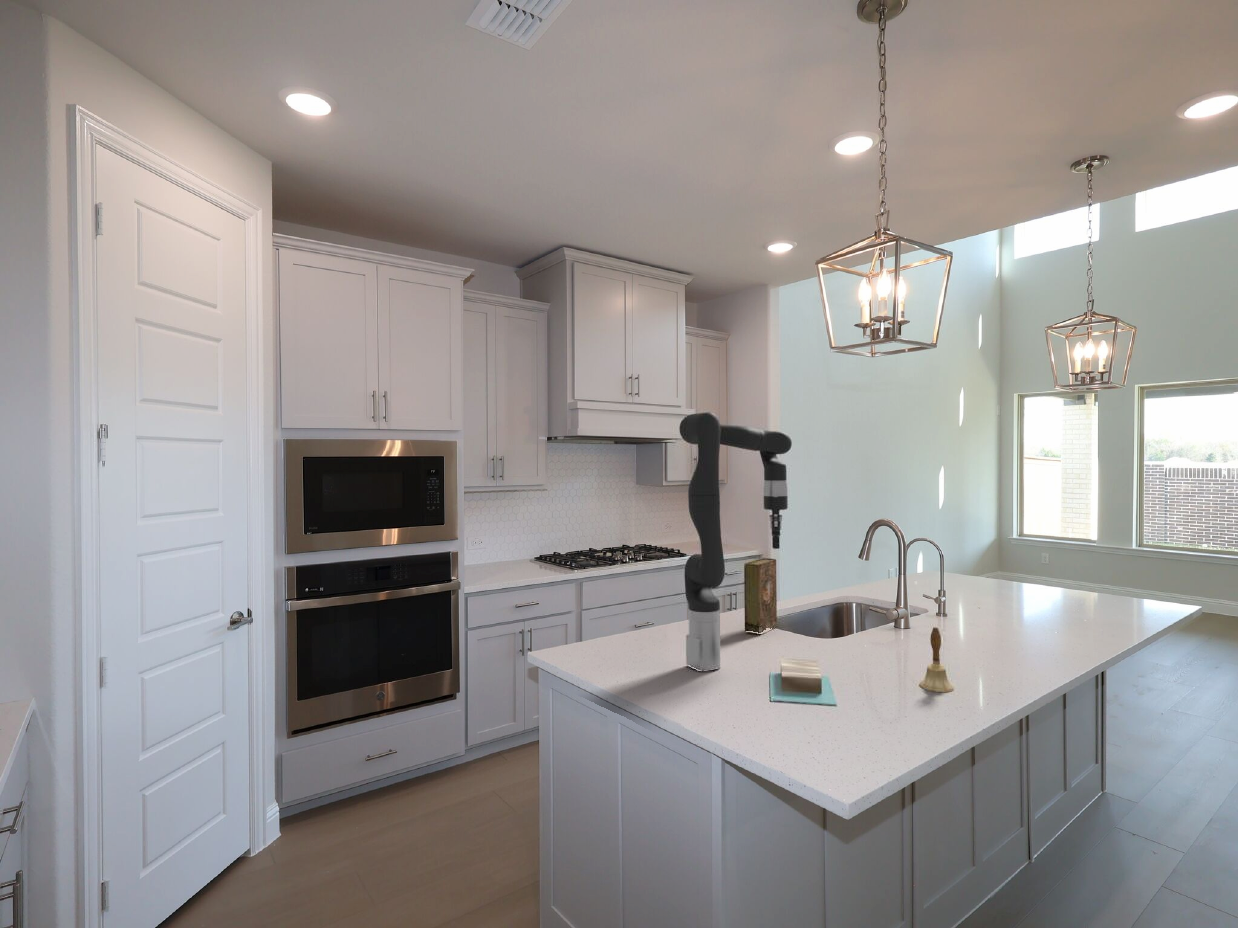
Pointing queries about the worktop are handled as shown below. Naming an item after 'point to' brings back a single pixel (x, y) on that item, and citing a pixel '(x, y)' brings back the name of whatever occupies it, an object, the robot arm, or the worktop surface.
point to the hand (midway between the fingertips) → (775, 548)
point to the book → (760, 595)
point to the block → (800, 676)
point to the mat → (801, 697)
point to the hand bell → (936, 668)
